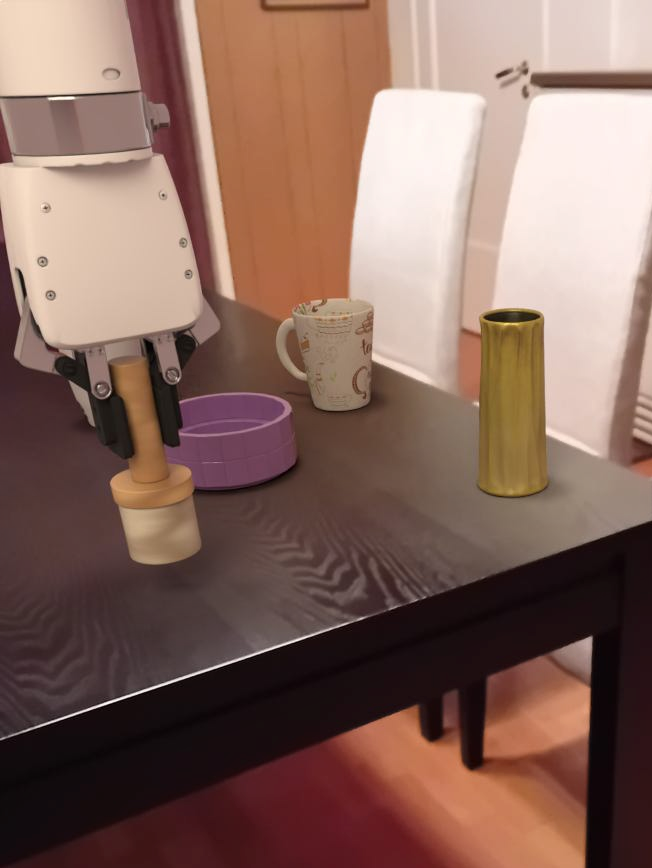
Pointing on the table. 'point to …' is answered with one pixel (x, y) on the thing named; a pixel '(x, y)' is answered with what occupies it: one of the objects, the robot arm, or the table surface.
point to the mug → (332, 350)
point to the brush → (151, 477)
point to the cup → (111, 352)
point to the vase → (512, 403)
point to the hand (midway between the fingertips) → (143, 445)
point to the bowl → (234, 439)
